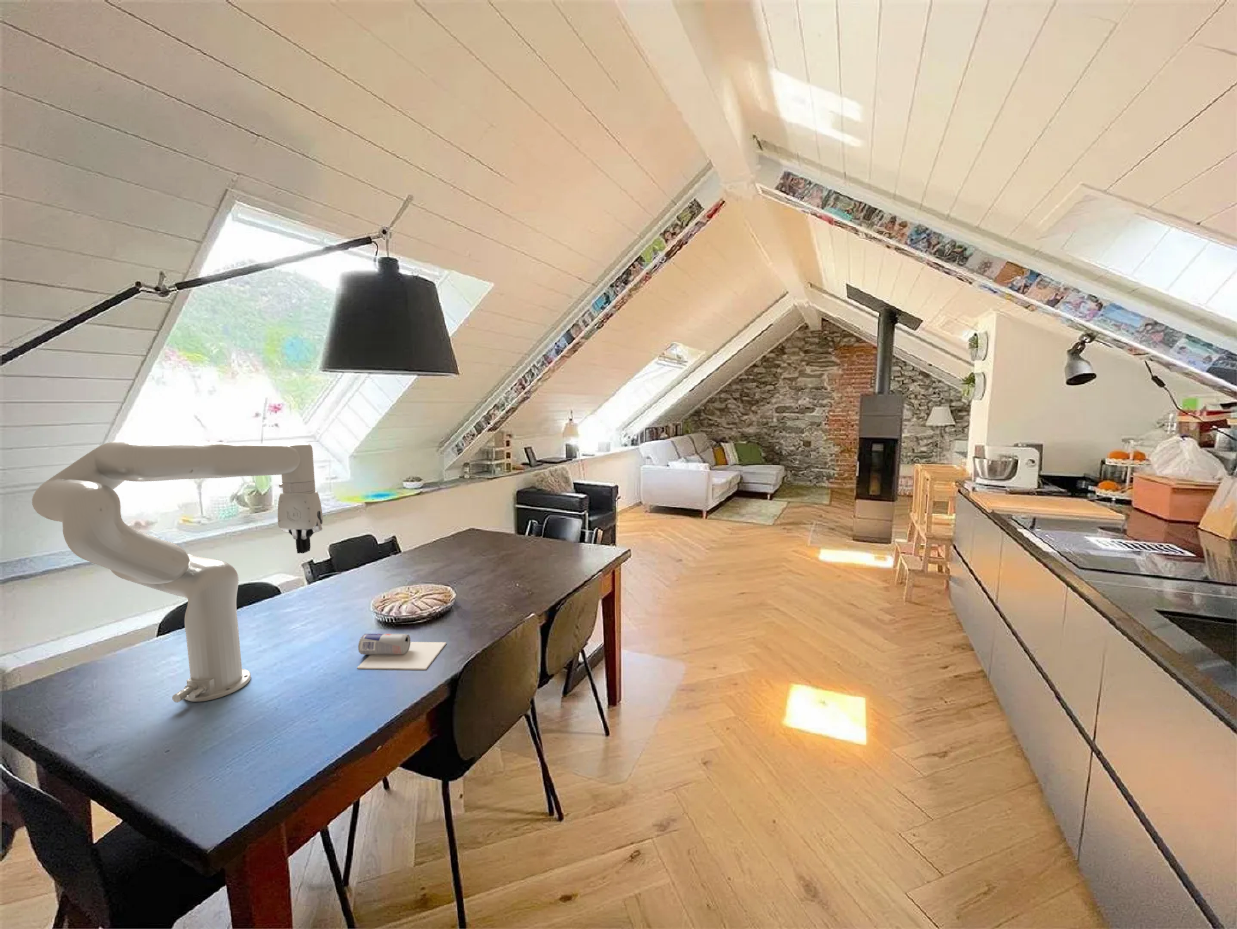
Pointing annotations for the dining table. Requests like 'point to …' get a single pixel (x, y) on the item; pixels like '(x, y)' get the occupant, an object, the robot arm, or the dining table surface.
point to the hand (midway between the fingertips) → (303, 551)
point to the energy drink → (384, 644)
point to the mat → (406, 657)
